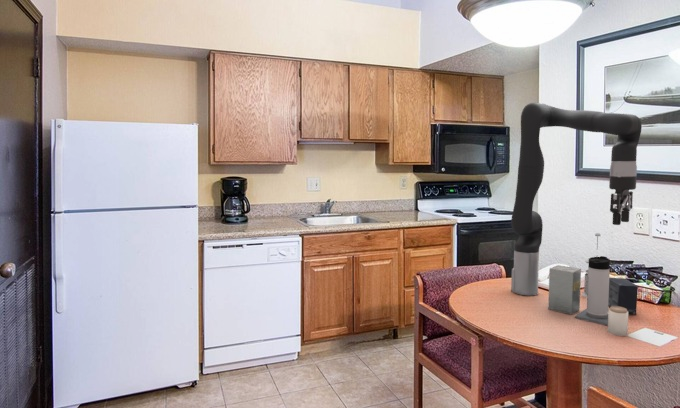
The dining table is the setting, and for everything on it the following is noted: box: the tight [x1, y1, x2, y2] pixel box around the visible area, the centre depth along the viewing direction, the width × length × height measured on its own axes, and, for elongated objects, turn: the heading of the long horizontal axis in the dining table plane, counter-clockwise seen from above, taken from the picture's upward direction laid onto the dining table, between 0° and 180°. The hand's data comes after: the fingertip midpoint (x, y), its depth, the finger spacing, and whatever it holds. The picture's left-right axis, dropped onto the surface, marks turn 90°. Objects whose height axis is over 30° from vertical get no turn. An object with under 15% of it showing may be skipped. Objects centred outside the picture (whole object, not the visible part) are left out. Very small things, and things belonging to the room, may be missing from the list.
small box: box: [608, 277, 639, 316], centre depth 158 cm, size 11×6×10 cm, turn 169°
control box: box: [547, 264, 582, 315], centre depth 159 cm, size 9×7×15 cm
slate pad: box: [574, 308, 608, 327], centre depth 150 cm, size 10×10×1 cm
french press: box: [580, 232, 601, 298], centre depth 174 cm, size 10×12×25 cm
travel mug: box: [586, 255, 611, 319], centre depth 150 cm, size 6×7×20 cm
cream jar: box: [607, 306, 629, 337], centre depth 137 cm, size 5×5×8 cm
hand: (620, 223), depth 149 cm, fingers open, 8 cm apart
